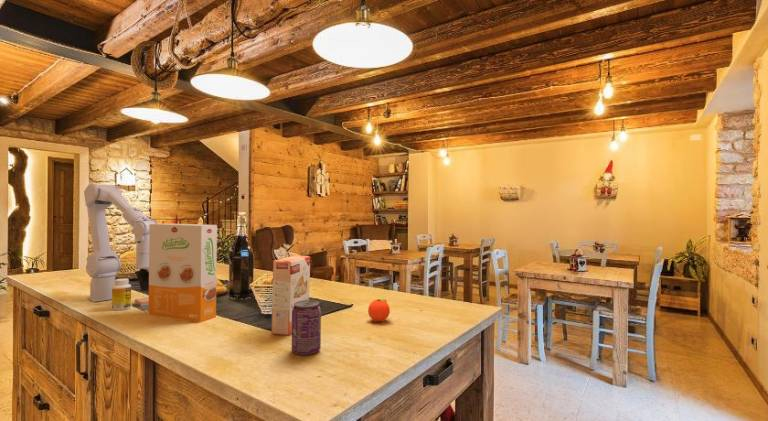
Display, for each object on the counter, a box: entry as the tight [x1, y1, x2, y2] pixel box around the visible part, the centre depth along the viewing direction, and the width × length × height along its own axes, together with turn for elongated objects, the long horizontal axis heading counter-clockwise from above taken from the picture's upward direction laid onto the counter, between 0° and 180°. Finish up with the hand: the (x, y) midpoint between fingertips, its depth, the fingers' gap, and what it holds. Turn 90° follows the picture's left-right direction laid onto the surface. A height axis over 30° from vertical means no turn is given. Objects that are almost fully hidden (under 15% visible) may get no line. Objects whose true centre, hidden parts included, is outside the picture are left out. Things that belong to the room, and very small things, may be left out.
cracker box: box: [271, 255, 311, 336], centre depth 112 cm, size 14×6×21 cm, turn 168°
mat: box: [131, 303, 149, 311], centre depth 136 cm, size 11×9×1 cm
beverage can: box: [291, 299, 322, 356], centre depth 94 cm, size 7×7×12 cm
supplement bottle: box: [111, 278, 132, 311], centre depth 131 cm, size 6×6×10 cm
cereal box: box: [148, 223, 218, 323], centre depth 123 cm, size 22×6×30 cm, turn 69°
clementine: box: [367, 298, 391, 323], centre depth 120 cm, size 8×7×7 cm
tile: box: [134, 296, 149, 307], centre depth 137 cm, size 2×6×6 cm
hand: (145, 289), depth 139 cm, fingers closed
